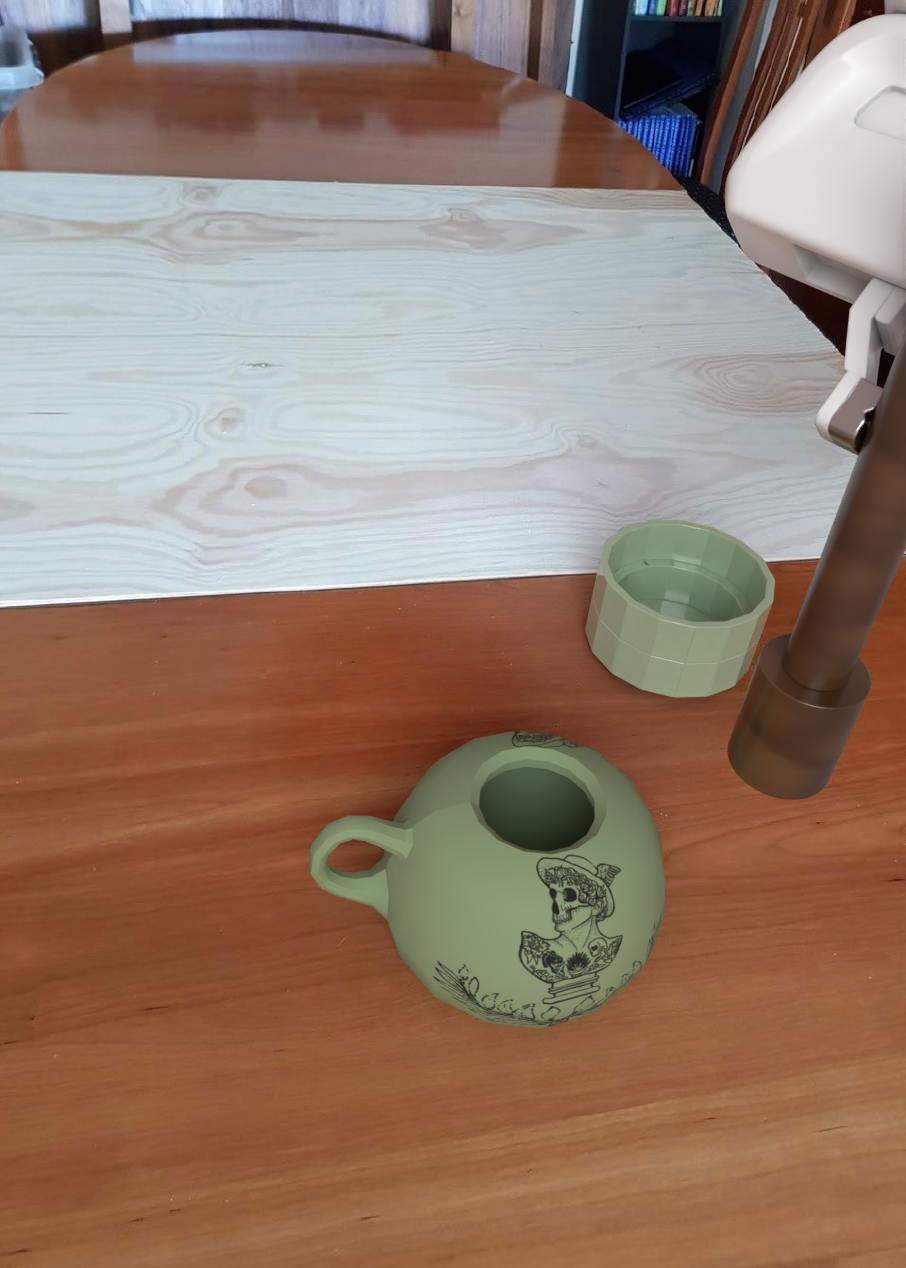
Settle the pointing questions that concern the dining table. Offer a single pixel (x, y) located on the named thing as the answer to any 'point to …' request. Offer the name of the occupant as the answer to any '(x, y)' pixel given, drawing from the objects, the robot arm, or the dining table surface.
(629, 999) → the dining table surface
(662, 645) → the bowl
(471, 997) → the mug
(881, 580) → the wooden pestle
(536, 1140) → the dining table surface
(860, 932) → the dining table surface
